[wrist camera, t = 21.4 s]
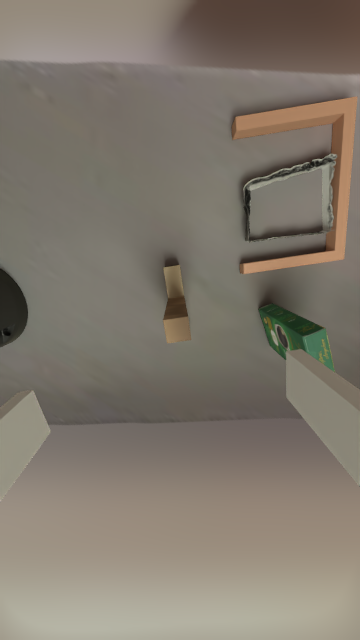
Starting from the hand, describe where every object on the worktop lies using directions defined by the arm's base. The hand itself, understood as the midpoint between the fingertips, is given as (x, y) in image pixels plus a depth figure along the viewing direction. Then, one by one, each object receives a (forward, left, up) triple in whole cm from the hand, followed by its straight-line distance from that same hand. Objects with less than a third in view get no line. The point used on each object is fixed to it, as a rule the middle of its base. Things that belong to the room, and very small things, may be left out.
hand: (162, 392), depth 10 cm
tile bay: (+19, +13, -25) cm, 34 cm away
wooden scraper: (+1, 0, -25) cm, 25 cm away
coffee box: (+17, -7, -25) cm, 31 cm away
